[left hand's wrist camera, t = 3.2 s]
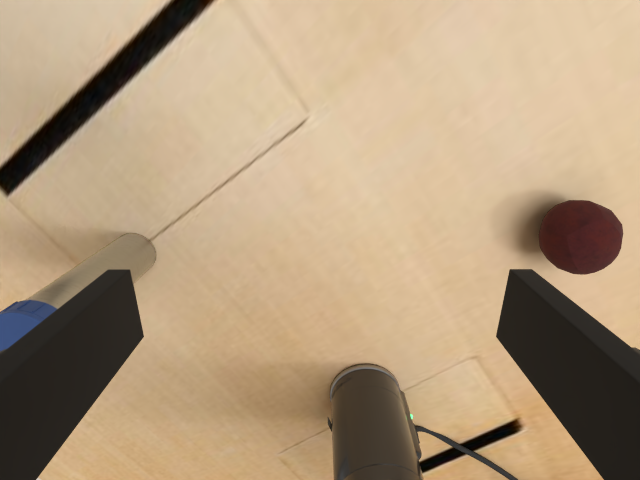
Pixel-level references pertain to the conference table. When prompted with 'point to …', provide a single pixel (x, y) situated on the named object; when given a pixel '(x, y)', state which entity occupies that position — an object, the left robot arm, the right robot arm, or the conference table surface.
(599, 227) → the plum
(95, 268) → the jar
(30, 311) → the lid
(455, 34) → the conference table surface
